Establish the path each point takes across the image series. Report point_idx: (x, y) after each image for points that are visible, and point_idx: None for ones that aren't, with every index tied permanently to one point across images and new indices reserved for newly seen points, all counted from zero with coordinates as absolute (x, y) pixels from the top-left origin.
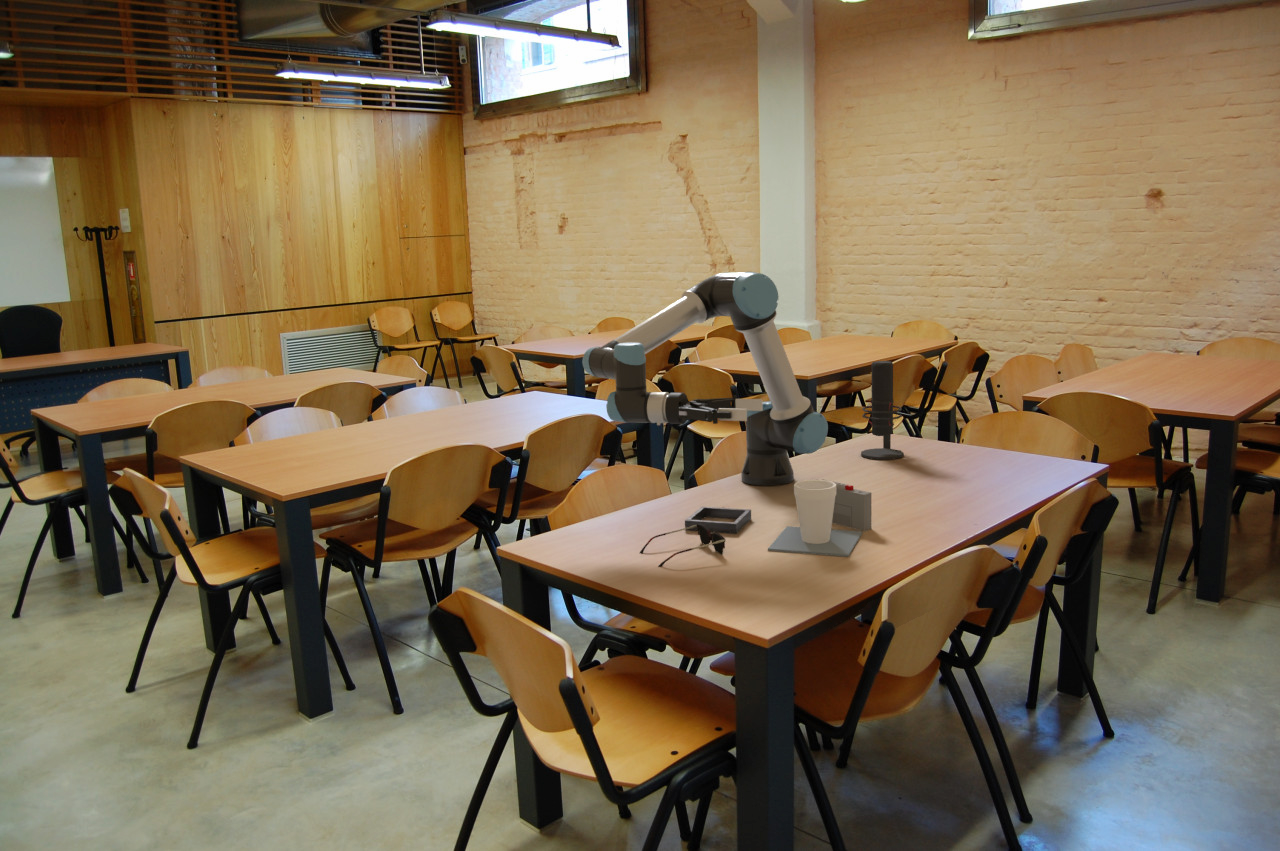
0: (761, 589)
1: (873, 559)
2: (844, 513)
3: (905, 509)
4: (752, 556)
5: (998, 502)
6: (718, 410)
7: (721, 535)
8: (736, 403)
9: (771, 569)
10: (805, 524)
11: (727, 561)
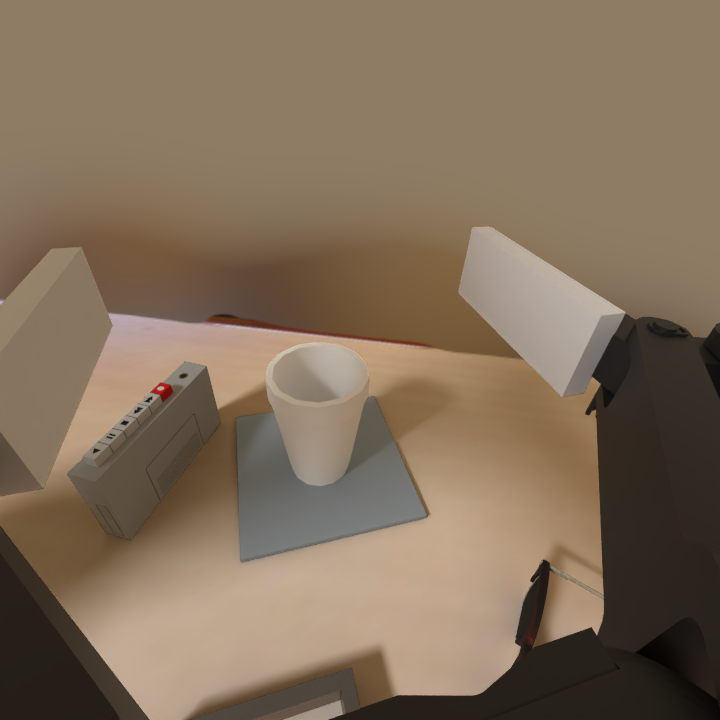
0: (588, 439)
1: None
2: (186, 440)
3: None
4: (478, 528)
5: None
6: (618, 324)
7: (541, 576)
8: (9, 424)
9: (508, 464)
10: (354, 440)
11: (546, 560)
